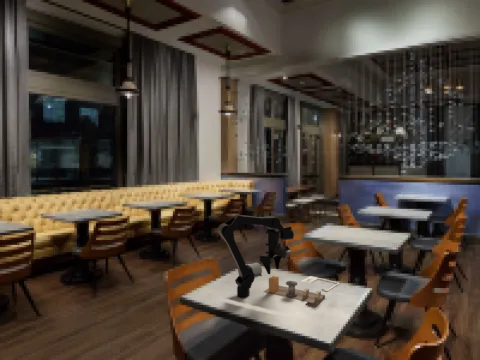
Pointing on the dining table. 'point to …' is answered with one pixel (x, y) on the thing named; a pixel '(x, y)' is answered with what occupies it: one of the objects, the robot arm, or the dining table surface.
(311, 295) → the winding board
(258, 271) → the ceramic mug
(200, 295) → the dining table surface
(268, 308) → the dining table surface
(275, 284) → the orange brown block
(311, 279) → the photo frame
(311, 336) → the dining table surface
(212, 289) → the dining table surface
